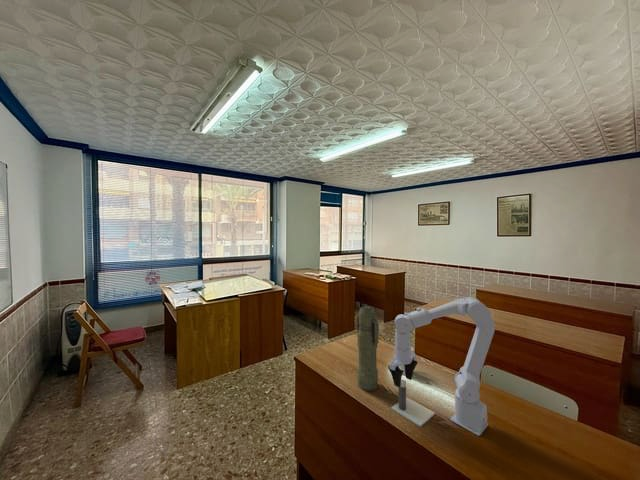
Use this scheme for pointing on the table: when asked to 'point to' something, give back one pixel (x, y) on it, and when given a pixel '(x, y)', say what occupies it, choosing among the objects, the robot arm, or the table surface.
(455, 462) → the table surface
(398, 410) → the notepad
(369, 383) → the thermos
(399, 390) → the cylinder
